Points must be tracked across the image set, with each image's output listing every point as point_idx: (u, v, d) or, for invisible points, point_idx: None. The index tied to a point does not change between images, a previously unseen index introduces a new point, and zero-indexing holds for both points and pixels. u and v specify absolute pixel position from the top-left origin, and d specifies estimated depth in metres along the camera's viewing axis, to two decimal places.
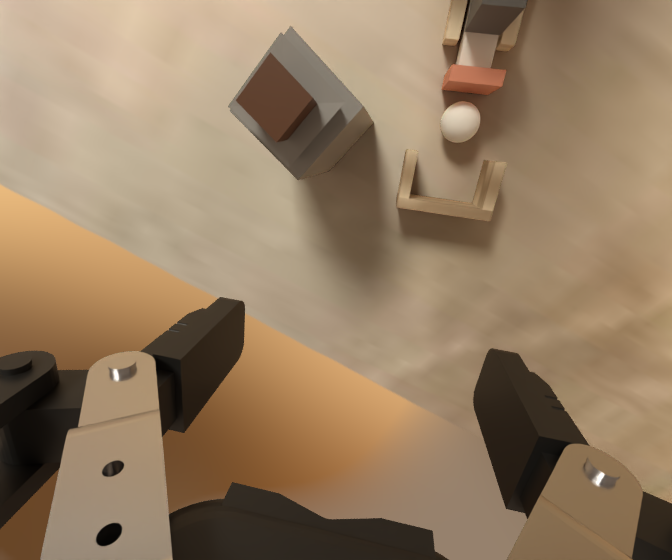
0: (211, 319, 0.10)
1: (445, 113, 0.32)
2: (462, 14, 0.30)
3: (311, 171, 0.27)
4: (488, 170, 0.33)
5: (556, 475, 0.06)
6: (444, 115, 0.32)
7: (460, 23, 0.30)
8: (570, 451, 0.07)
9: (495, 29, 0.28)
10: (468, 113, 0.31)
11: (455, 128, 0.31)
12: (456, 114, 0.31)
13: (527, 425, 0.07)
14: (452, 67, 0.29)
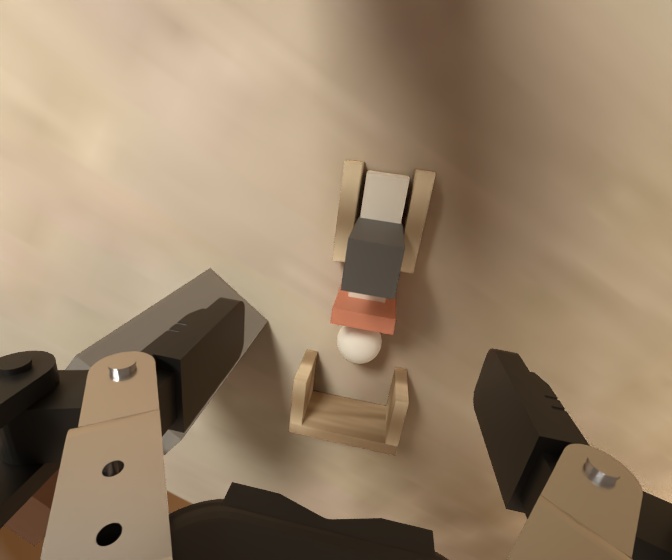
0: (211, 319, 0.10)
1: (339, 335, 0.27)
2: None
3: None
4: (393, 396, 0.28)
5: (556, 475, 0.06)
6: (338, 336, 0.27)
7: None
8: (570, 451, 0.07)
9: None
10: (362, 345, 0.26)
11: (349, 357, 0.26)
12: (348, 344, 0.26)
13: (527, 425, 0.07)
14: (333, 311, 0.24)
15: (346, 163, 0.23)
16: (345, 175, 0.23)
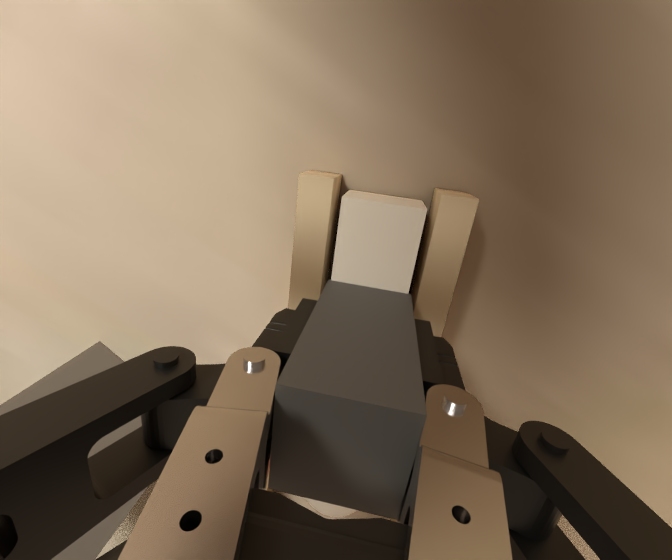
0: (305, 318, 0.10)
1: None
2: None
3: None
4: None
5: None
6: None
7: None
8: (431, 394, 0.08)
9: None
10: None
11: (317, 510, 0.15)
12: None
13: None
14: None
15: (303, 178, 0.12)
16: (302, 200, 0.12)
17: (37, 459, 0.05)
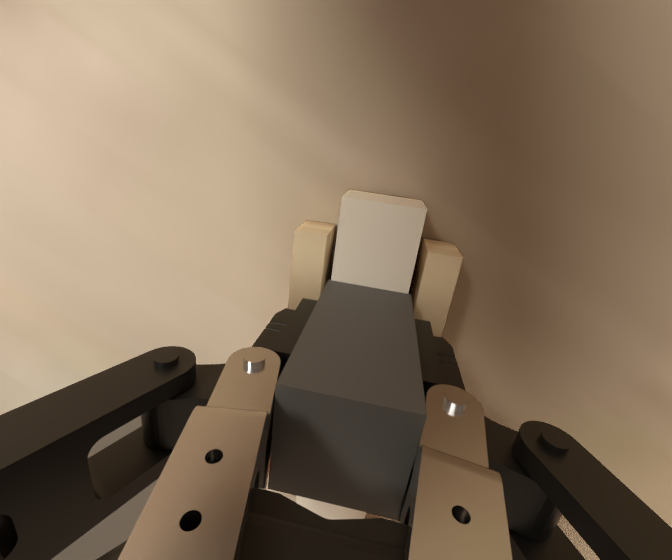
0: (305, 318, 0.10)
1: None
2: None
3: None
4: None
5: None
6: (297, 498, 0.17)
7: None
8: (432, 394, 0.08)
9: None
10: None
11: None
12: None
13: None
14: None
15: (298, 235, 0.12)
16: (297, 254, 0.13)
17: (37, 459, 0.05)
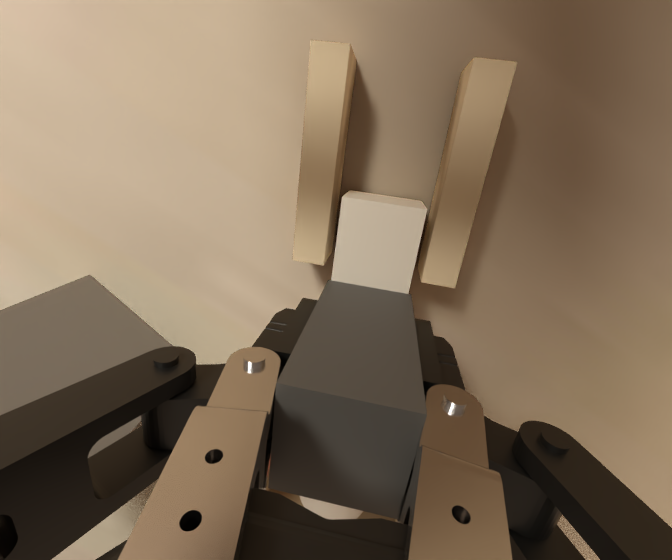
0: (305, 318, 0.10)
1: None
2: (324, 216, 0.12)
3: None
4: None
5: None
6: None
7: (322, 233, 0.12)
8: (431, 394, 0.08)
9: None
10: None
11: None
12: None
13: None
14: None
15: (315, 46, 0.10)
16: (314, 74, 0.11)
17: (37, 459, 0.05)
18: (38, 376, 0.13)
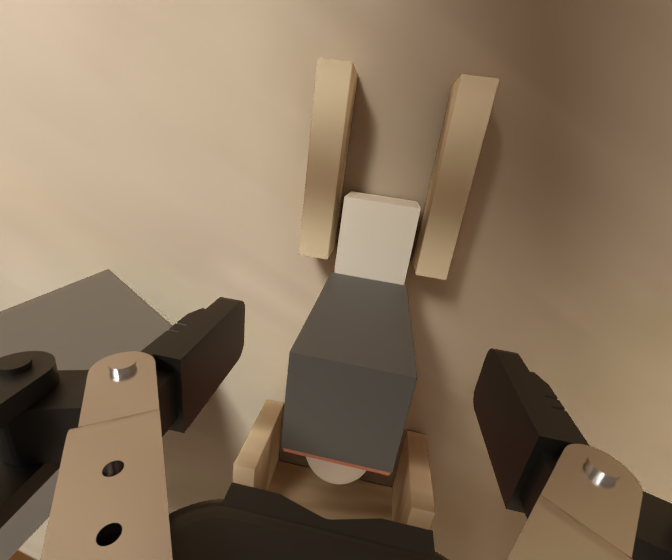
0: (211, 319, 0.10)
1: None
2: (328, 214, 0.13)
3: None
4: (406, 487, 0.16)
5: (556, 475, 0.06)
6: None
7: (326, 230, 0.14)
8: (570, 451, 0.07)
9: None
10: None
11: None
12: None
13: (528, 425, 0.07)
14: None
15: (321, 63, 0.12)
16: (320, 88, 0.12)
17: None
18: (66, 359, 0.14)
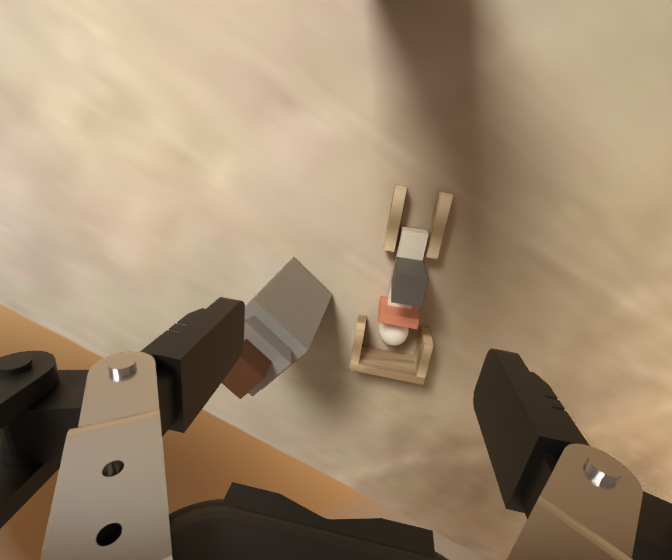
0: (211, 319, 0.10)
1: (379, 334, 0.42)
2: (395, 235, 0.38)
3: None
4: (421, 343, 0.41)
5: (556, 475, 0.06)
6: (379, 333, 0.42)
7: (394, 241, 0.38)
8: (570, 451, 0.07)
9: None
10: None
11: None
12: None
13: (528, 425, 0.07)
14: (380, 314, 0.38)
15: (396, 188, 0.36)
16: (395, 195, 0.36)
17: None
18: (300, 287, 0.38)
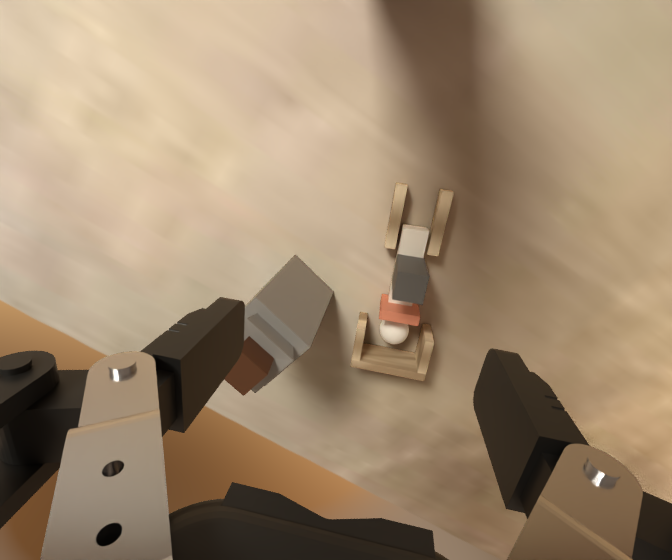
0: (211, 319, 0.10)
1: (380, 333, 0.42)
2: (396, 233, 0.38)
3: None
4: (422, 340, 0.41)
5: (556, 475, 0.06)
6: None
7: (395, 238, 0.38)
8: (570, 451, 0.07)
9: None
10: None
11: None
12: None
13: (527, 425, 0.07)
14: (381, 311, 0.38)
15: (397, 185, 0.36)
16: (396, 193, 0.36)
17: None
18: (302, 285, 0.38)
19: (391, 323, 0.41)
